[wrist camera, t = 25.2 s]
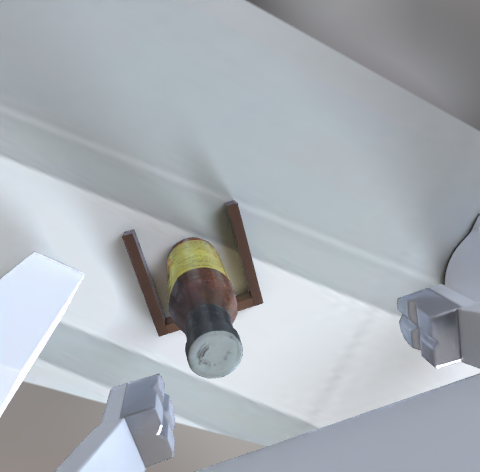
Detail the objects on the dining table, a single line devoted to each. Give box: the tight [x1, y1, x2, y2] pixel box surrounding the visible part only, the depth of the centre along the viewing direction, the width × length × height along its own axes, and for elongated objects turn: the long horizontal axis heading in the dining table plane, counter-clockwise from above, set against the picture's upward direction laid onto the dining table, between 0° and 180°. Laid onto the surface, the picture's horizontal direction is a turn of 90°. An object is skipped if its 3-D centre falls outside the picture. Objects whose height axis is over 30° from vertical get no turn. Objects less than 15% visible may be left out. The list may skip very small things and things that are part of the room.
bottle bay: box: [122, 200, 263, 336], centre depth 43 cm, size 13×13×2 cm
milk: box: [0, 252, 85, 416], centre depth 31 cm, size 6×6×22 cm
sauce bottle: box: [167, 237, 243, 378], centre depth 35 cm, size 7×6×20 cm
